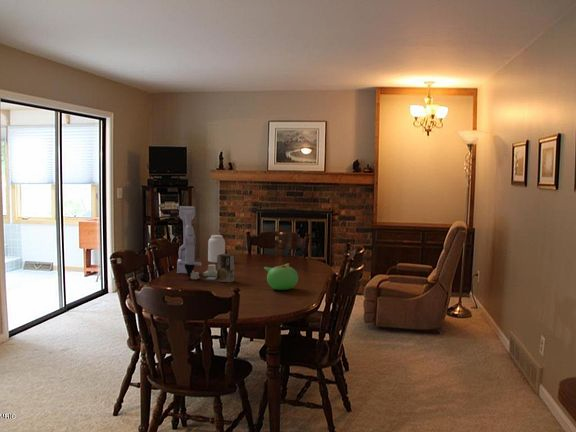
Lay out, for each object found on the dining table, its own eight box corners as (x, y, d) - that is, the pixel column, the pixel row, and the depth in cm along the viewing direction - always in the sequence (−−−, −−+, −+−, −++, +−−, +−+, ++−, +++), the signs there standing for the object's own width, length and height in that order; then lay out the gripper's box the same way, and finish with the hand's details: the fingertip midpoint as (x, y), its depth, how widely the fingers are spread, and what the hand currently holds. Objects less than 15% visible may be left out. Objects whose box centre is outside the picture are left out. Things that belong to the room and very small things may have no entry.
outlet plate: (203, 275, 325) (203, 272, 324) (207, 273, 334) (207, 270, 333) (221, 276, 323) (221, 273, 323) (224, 274, 332) (225, 271, 332)
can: (210, 259, 389) (211, 234, 388) (226, 260, 388) (227, 234, 386) (205, 262, 377) (206, 235, 376) (222, 263, 375) (222, 236, 374)
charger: (207, 274, 326) (207, 265, 326) (209, 273, 330) (209, 264, 330) (213, 274, 326) (214, 265, 325) (215, 273, 330) (215, 264, 329)
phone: (204, 281, 311) (204, 279, 311) (208, 278, 319) (208, 276, 318) (214, 281, 310) (214, 279, 310) (217, 279, 318) (217, 277, 318)
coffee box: (234, 280, 312) (235, 254, 310) (230, 282, 305) (230, 256, 304) (221, 279, 315) (221, 253, 313) (216, 281, 308) (217, 255, 307)
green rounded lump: (272, 293, 278) (273, 267, 277) (261, 287, 294) (262, 262, 293) (302, 291, 285) (302, 265, 284) (290, 285, 301) (290, 261, 300)
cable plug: (190, 278, 314) (190, 273, 314) (192, 277, 318) (192, 272, 317) (198, 279, 313) (198, 273, 313) (200, 278, 317) (200, 272, 317)
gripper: (176, 255, 312) (176, 277, 313) (199, 256, 310) (198, 278, 311) (180, 253, 319) (180, 275, 320) (202, 254, 317) (202, 276, 318)
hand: (189, 276), depth 316 cm, fingers closed
